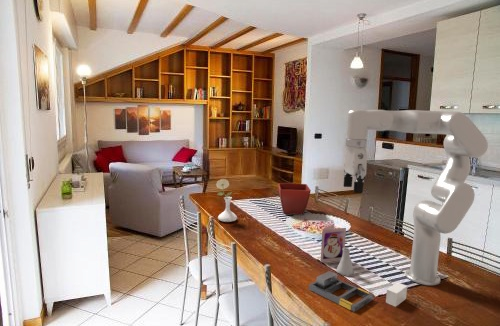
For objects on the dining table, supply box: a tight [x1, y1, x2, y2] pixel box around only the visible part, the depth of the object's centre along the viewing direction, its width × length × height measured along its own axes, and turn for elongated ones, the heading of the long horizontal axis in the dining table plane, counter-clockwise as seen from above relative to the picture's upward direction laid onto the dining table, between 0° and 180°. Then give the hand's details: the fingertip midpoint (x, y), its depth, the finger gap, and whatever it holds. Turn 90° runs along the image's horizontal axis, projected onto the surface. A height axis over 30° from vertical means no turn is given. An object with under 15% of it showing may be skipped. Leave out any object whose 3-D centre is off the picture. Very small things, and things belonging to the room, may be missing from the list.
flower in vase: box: [215, 178, 238, 223], centre depth 205 cm, size 13×11×25 cm
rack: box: [308, 270, 374, 313], centre depth 125 cm, size 12×19×5 cm, turn 42°
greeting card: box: [320, 223, 347, 263], centre depth 155 cm, size 11×7×15 cm, turn 105°
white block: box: [385, 282, 408, 308], centre depth 122 cm, size 8×4×5 cm, turn 132°
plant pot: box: [278, 182, 311, 215], centre depth 227 cm, size 19×19×17 cm
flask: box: [335, 247, 355, 277], centre depth 143 cm, size 7×7×10 cm
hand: (352, 189), depth 130 cm, fingers open, 9 cm apart
